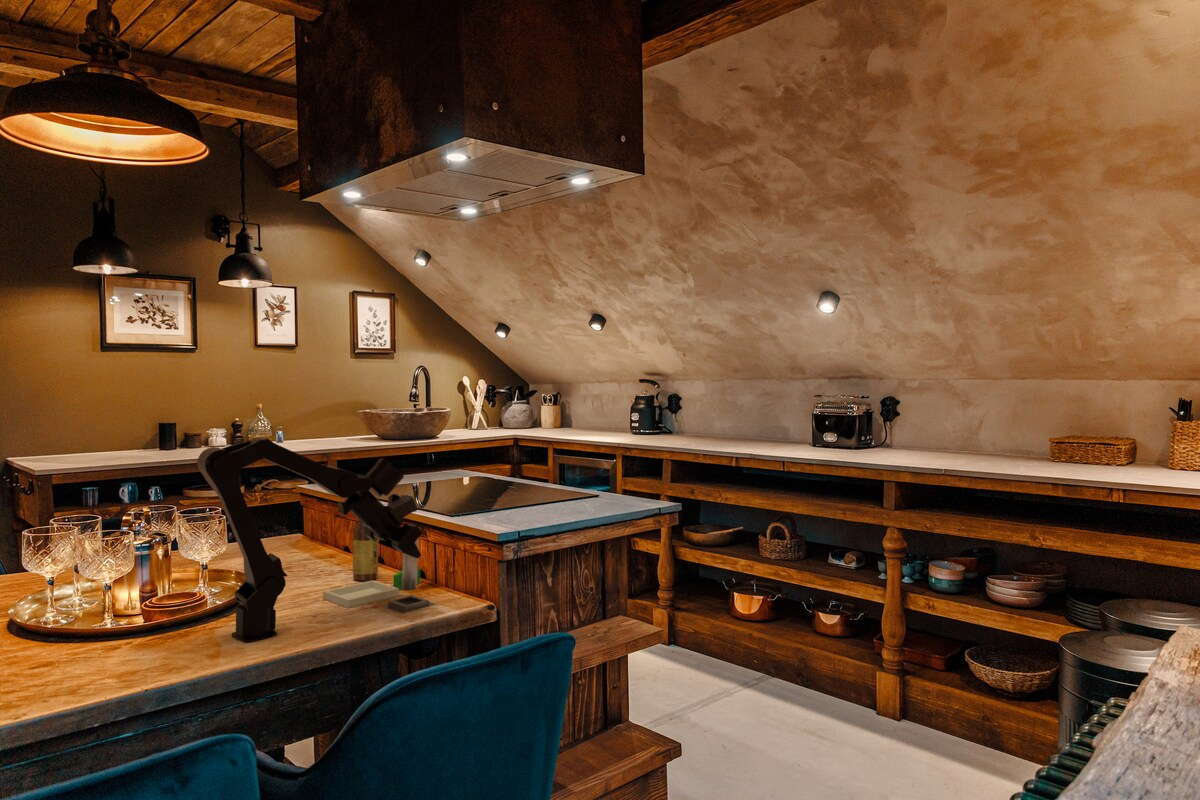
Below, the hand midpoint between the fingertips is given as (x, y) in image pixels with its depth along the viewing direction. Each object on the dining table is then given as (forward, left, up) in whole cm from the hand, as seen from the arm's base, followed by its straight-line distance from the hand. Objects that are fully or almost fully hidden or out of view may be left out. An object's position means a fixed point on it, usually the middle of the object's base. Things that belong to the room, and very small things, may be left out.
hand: (415, 555), depth 173 cm
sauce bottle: (+6, +28, -12) cm, 31 cm away
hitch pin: (-1, 0, -8) cm, 8 cm away
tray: (-5, +13, -12) cm, 19 cm away
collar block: (-1, 0, -12) cm, 12 cm away
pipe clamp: (+9, +14, -12) cm, 20 cm away
